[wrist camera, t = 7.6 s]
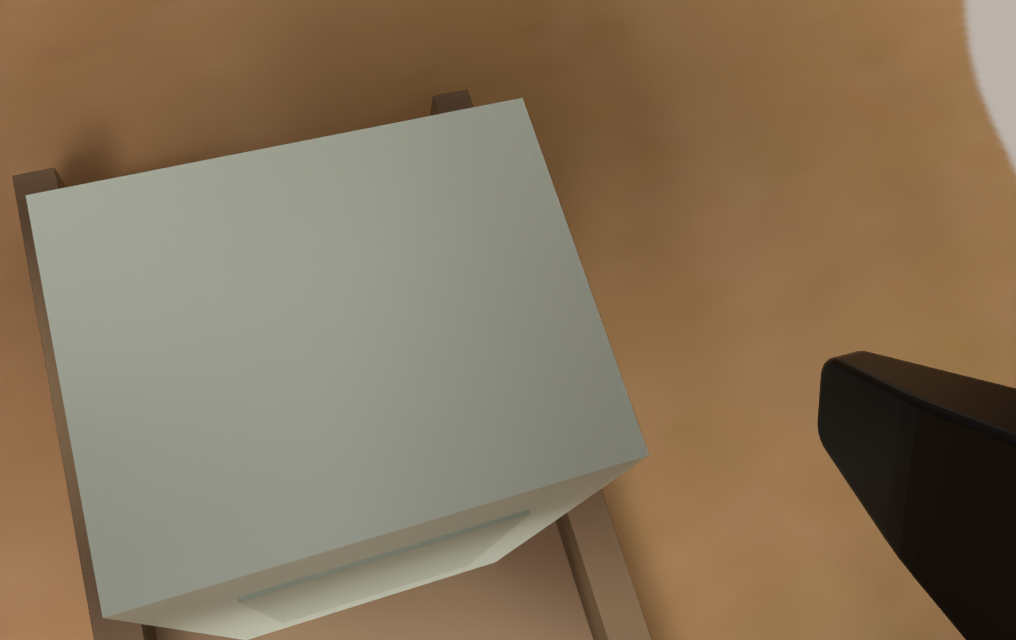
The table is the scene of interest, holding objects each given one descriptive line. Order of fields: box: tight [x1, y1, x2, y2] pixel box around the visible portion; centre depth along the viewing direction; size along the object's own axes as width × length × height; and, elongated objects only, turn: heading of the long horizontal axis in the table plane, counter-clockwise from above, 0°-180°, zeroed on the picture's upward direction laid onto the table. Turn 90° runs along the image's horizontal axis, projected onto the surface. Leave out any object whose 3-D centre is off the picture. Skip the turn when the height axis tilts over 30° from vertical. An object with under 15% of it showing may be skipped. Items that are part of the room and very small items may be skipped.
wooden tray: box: [12, 90, 651, 640], centre depth 18 cm, size 18×10×3 cm, turn 18°
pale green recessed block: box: [26, 98, 649, 640], centre depth 14 cm, size 4×5×11 cm
